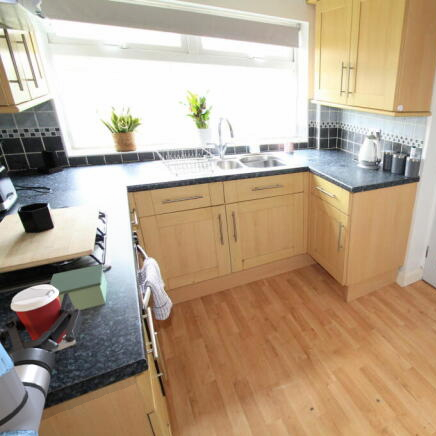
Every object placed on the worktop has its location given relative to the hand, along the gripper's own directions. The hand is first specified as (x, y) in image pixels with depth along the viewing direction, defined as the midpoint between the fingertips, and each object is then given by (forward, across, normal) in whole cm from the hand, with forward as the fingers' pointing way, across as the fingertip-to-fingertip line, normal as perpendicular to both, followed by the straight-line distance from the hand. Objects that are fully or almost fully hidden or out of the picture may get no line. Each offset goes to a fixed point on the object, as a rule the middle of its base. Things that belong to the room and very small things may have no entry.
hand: (48, 302), depth 72 cm
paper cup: (-5, 0, -8) cm, 10 cm away
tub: (+19, +2, -13) cm, 23 cm away
